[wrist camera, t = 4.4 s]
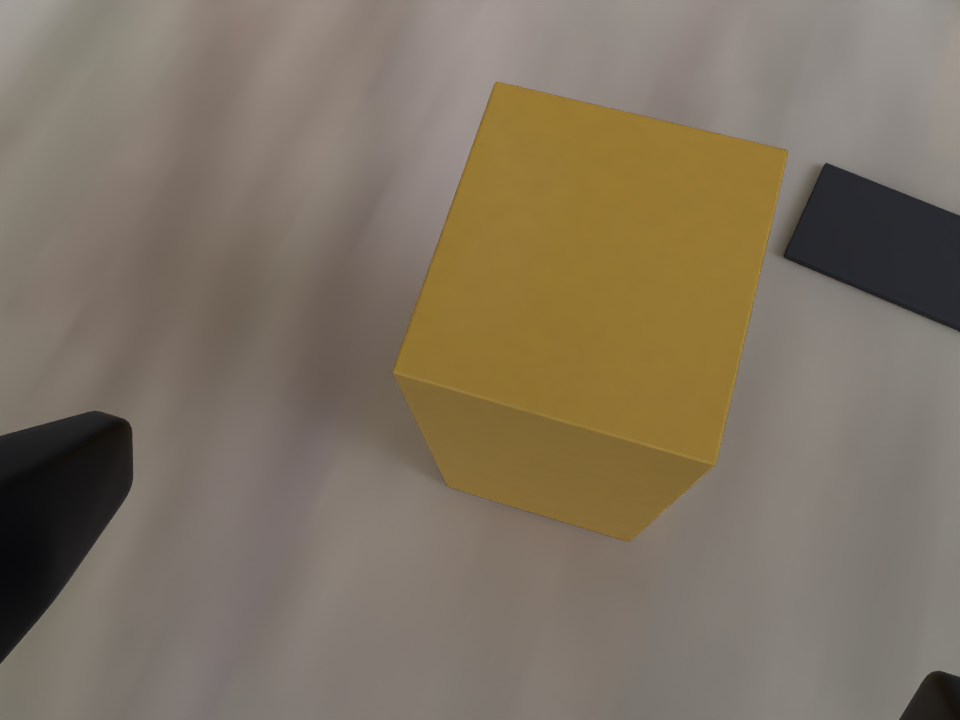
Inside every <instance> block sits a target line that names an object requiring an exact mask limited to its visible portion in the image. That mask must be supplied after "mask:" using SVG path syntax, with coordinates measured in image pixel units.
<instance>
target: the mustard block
mask: <svg viewBox="0 0 960 720" xmlns="http://www.w3.org/2000/svg"><path fill="white" fill-rule="evenodd" d="M787 156H788V151H787V150H785V149H781V148H776V147H772V146H768V145H764V144H759V143H755V142H751V141H747V140H742V139H738V138H734V137H730V136H725V135H721V134H717V133H713V132H709V131H704V130H700V129H696V128H692V127H687V126H683V125H679V124H675V123H670V122H666V121H662V120H658V119H653V118H649V117H645V116H641V115H637V114H632V113H628V112H624V111H620V110H615V109H611V108H607V107H603V106H598V105H594V104H590V103H586V102H581V101H577V100H573V99H569V98H565V97H560V96H556V95H552V94H548V93H543V92H539V91H535V90H531V89H526V88H522V87H518V86H514V85H509V84H505V83H501V82H496V83H495V84H494V86H493V89H492V92H491V95H490V97H489V100H488V103H487V106H486V109H485V112H484V114H483V117H482V120H481V123H480V126H479V128H478V131H477V134H476V137H475V140H474V142H473V145H472V148H471V151H470V154H469V156H468V159H467V162H466V165H465V168H464V170H463V173H462V176H461V179H460V182H459V185H458V187H457V190H456V193H455V196H454V199H453V201H452V204H451V207H450V210H449V213H448V215H447V218H446V221H445V224H444V227H443V229H442V232H441V235H440V238H439V241H438V243H437V246H436V249H435V252H434V255H433V258H432V260H431V263H430V266H429V269H428V272H427V274H426V277H425V280H424V283H423V286H422V288H421V291H420V294H419V297H418V300H417V302H416V305H415V308H414V311H413V314H412V316H411V319H410V322H409V325H408V328H407V331H406V333H405V336H404V339H403V342H402V345H401V347H400V350H399V353H398V356H397V359H396V361H395V364H394V367H393V370H392V372H393V375H394V377H395V379H396V381H397V383H398V385H399V387H400V389H401V391H402V393H403V395H404V397H405V399H406V402H407V404H408V406H409V408H410V410H411V412H412V414H413V416H414V418H415V420H416V422H417V424H418V426H419V428H420V430H421V432H422V435H423V437H424V439H425V441H426V443H427V445H428V447H429V449H430V451H431V453H432V455H433V457H434V459H435V461H436V463H437V465H438V468H439V470H440V472H441V474H442V476H443V478H444V480H445V482H446V484H447V486H448V487H450V488H454V489H457V490H460V491H464V492H467V493H470V494H473V495H477V496H480V497H483V498H487V499H490V500H493V501H496V502H500V503H503V504H506V505H510V506H513V507H516V508H519V509H523V510H526V511H529V512H532V513H536V514H539V515H542V516H546V517H549V518H552V519H555V520H559V521H562V522H565V523H569V524H572V525H575V526H578V527H582V528H585V529H588V530H592V531H595V532H598V533H601V534H605V535H608V536H611V537H615V538H618V539H621V540H624V541H628V542H629V541H631V540H632V539H633V538H634V537H635V536H636V535H638V534H639V533H640V532H641V531H642V530H643V529H644V528H645V527H646V526H648V525H649V524H650V523H651V522H652V521H653V520H654V519H655V518H657V517H658V516H659V515H660V514H661V513H662V512H663V511H664V510H665V509H667V508H668V507H669V506H670V505H671V504H672V503H673V502H674V501H676V500H677V499H678V498H679V497H680V496H681V495H682V494H683V493H685V492H686V491H687V490H688V489H689V488H690V487H691V486H692V485H693V484H695V483H696V482H697V481H698V480H699V479H700V478H701V477H702V476H704V475H705V474H706V473H707V472H708V471H709V470H710V469H711V468H712V467H714V466H715V464H716V462H717V458H718V454H719V449H720V445H721V441H722V436H723V432H724V428H725V423H726V419H727V415H728V410H729V406H730V402H731V397H732V393H733V389H734V385H735V380H736V376H737V372H738V367H739V363H740V359H741V354H742V350H743V346H744V341H745V337H746V333H747V328H748V324H749V320H750V315H751V311H752V307H753V302H754V298H755V294H756V290H757V285H758V281H759V277H760V272H761V268H762V264H763V259H764V255H765V251H766V246H767V242H768V238H769V233H770V229H771V225H772V220H773V216H774V212H775V207H776V203H777V199H778V195H779V190H780V186H781V182H782V177H783V173H784V169H785V164H786V160H787Z"/></svg>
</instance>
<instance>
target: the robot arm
mask: <svg viewBox="0 0 960 720" xmlns="http://www.w3.org/2000/svg"><path fill="white" fill-rule="evenodd" d="M132 481H133V445H132V428H131V426H130V424H129V422H128V421H126V420H125V419H123V418H120V417H117V416H113V415H110V414H107V413H104V412H100V411H91V412H87V413H83V414H80V415H76V416H72V417H68V418H65V419H61V420H57V421H54V422H50V423H46V424H43V425H39V426H35V427H31V428H28V429H24V430H20V431H17V432H13V433H9V434H6V435H2V436H0V664H1V662H2V661H3V660H4V659H5V658H6V657H7V655H8V654H9V653H10V652H11V651H12V650H13V649H14V647H15V646H16V645H17V644H18V643H19V642H20V640H21V639H22V638H23V637H24V636H25V635H26V633H27V632H28V631H29V630H30V629H31V628H32V626H33V625H34V624H35V623H36V622H37V621H38V620H39V618H40V617H41V616H42V615H43V613H44V612H45V611H46V610H47V609H48V607H49V606H50V605H51V604H52V603H53V601H54V600H55V599H56V597H57V596H58V595H59V593H60V592H61V590H62V589H63V588H64V586H65V585H66V584H67V582H68V581H69V579H70V578H71V576H72V575H73V574H74V572H75V571H76V569H77V568H78V566H79V565H80V564H81V562H82V561H83V559H84V558H85V556H86V555H87V553H88V552H89V551H90V549H91V548H92V546H93V545H94V543H95V542H96V541H97V539H98V538H99V536H100V535H101V533H102V532H103V530H104V529H105V528H106V526H107V525H108V523H109V522H110V520H111V519H112V518H113V516H114V515H115V513H116V512H117V510H118V509H119V507H120V506H121V505H122V503H123V502H124V500H125V499H126V497H127V495H128V493H129V491H130V488H131V485H132ZM899 720H960V677H958V676H955V675H952V674H949V673H945V672H942V671H934V672H931V673H930V674H929V675H927V676H926V678H925V679H924V680H923V682H922V683H921V685H920V687H919V688H918V690H917V692H916V693H915V695H914V696H913V698H912V700H911V701H910V703H909V704H908V706H907V708H906V709H905V711H904V713H903V714H902V716H901V717H900V719H899Z"/></svg>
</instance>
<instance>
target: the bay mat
mask: <svg viewBox="0 0 960 720" xmlns="http://www.w3.org/2000/svg"><path fill="white" fill-rule="evenodd" d="M784 257H785V258H787V259H790V260H792V261H795V262H797V263H799V264H802V265H804V266H806V267H809V268H811V269H814V270H816V271H818V272H821V273H823V274H825V275H828V276H830V277H833V278H835V279H837V280H840V281H842V282H844V283H847V284H849V285H852V286H854V287H856V288H859V289H861V290H864V291H866V292H868V293H871V294H873V295H875V296H878V297H880V298H883V299H885V300H887V301H890V302H892V303H894V304H897V305H899V306H902V307H904V308H906V309H909V310H911V311H913V312H916V313H918V314H921V315H923V316H925V317H928V318H930V319H932V320H935V321H937V322H940V323H942V324H944V325H947V326H949V327H952V328H954V329H956V330H959V331H960V216H959V215H956V214H954V213H951V212H949V211H946V210H944V209H941V208H939V207H936V206H934V205H931V204H929V203H926V202H924V201H921V200H919V199H916V198H913V197H911V196H908V195H906V194H903V193H901V192H898V191H896V190H893V189H891V188H888V187H886V186H883V185H881V184H878V183H876V182H873V181H871V180H868V179H865V178H863V177H860V176H858V175H855V174H853V173H850V172H848V171H845V170H843V169H840V168H838V167H835V166H833V165H830V164H828V163H825V165H824V166H823V169H822V171H821V173H820V175H819V178H818V180H817V182H816V184H815V187H814V189H813V191H812V193H811V196H810V198H809V200H808V202H807V205H806V207H805V209H804V211H803V214H802V216H801V218H800V220H799V223H798V225H797V227H796V229H795V232H794V234H793V236H792V238H791V240H790V243H789V245H788V247H787V249H786V252H785V254H784Z"/></svg>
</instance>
